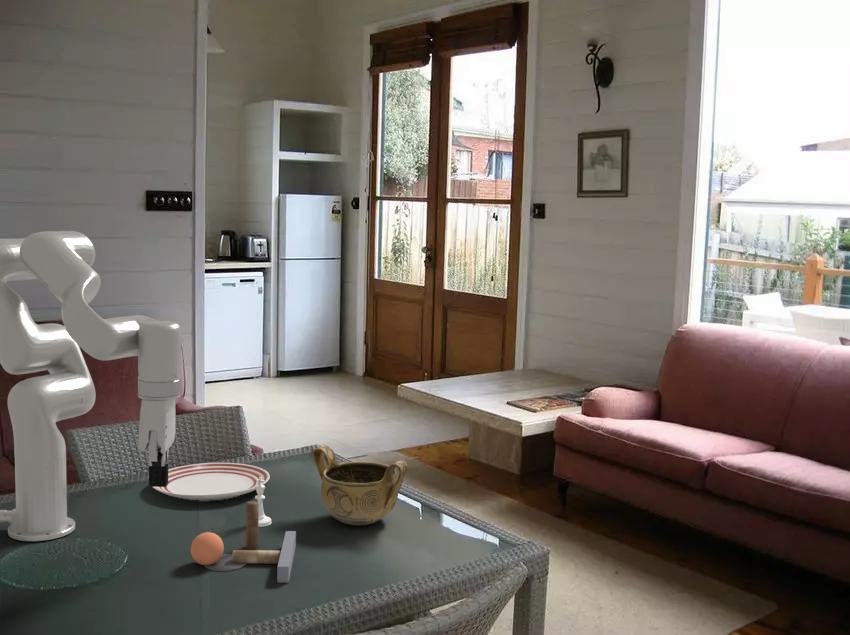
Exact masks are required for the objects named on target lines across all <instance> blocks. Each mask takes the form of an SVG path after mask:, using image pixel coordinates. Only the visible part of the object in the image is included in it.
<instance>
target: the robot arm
mask: <svg viewBox="0 0 850 635" xmlns="http://www.w3.org/2000/svg"><path fill="white" fill-rule="evenodd" d="M95 261H96V249H95V246H94V243H93V242H92V241H91V240H90V238H89V237H88V236H86V235H85V234H83V233H82V232H79V231H75V230H55V231H53V230H47V231H38V232H35V233H32V234H30V235H28V236H27V237H24V238H23V237H22V238H0V365H1V366H2V369H3V370H4V371H5V372H6V373H8V374H10V375H25V374H32V373H38V372H43V371H48V373H49V374H45V375H39V376H33V377H29V378H26V379H24V380H21V381H19V382H18V383H16V384H15V385H14V386H12V388H11V389H10V390H9V393H8V396H7V409H8V414H9V418H10V422H11V427H12V433H13V434H12V435H13V446H14V449H13V452H14V478H15V479H14V481H15V482H14V483H15V508H13V509H12V510H7V509H0V523H5V524H6V523H9V524H10V525H9V526H8V527H7V534H8V537H10V538H11V539H13V540H16V541H21V542H42V541H50V540H55V539H58V538H62V537H65V536H67V535H69V534H71V533H72V532H74V530H75V529H76V521H75V520H74V519H73V518H71V517H69V516H68V505H67V504H68V503H67V502H68V499H67V498H68V497H67V496H68V495H67V446H66V445H67V444H66V440H65V438H64V436H63V435H62V433H61V431H60V430H59V429H58V425H57V423H56V422H60V421H63V420H67V419H72V418H76V417H79V416H82V415H84V414H87V413H89V411H90V410H92V409H93V407H94V405H95V403H96V394H97V393H96V387H95V384H94V382H93V381H94V380H93V379H92V375H91V373H90V371H89V368H88V366H87V363H86V360H85V358H84V355H83V353H82V351H84V352H85V353H86V354H87V355H89V356H90V357H91V358H94V359H96V360H99V361H107V362H108V361H112V360H118V359H123V358H132V357H137V360H138V361H137V378H138V379H137V397H138V398H139V399H141V403H140V412H139V425H138V426H139V427H138V442H137V443H138V444H137V445H138V447H137V451H138V452H139V453H140V454H143V453H144V452H145V451H146V450H147V449H148V486H149V487H152V488H153V487H166V485H167V484H168V470H169V463H168V462H169V451H170V450H169V449H170V447H171V446H172V444H173V443H174V442H175V437H176V400H177V399H179V398H180V397H181V395H182V394H181V392H182V391H181V388H182V387H181V386H182V385H181V384H182V383H181V382H182V381H181V380H182V372H181V371H182V329H181V328H182V327H181V326H180V324H179V323H178V322H175V321H172V320H161V319H160V320H158V319H155V318H152V317H150V316H147V315H142V314H140V315H139V314H135V315H128V316H127V315H126V316H116V317H110V318H109V317H107V318H103V317H101V316H100V315H99V314H98V313H97V312H95V311H94V310H93V308H92V307H91V306H90V305H89V304H90V303H91V301H93V299H94V298H95V297H96V296H97V294H98V293H99V291H100V288H101V282H102V281H101V277H100V275H99V274H98V272H97V271H96V270H95V269H93V267H92V266H93V265H94V263H95ZM26 280H29V281H30V280H39V282H40V283H42V284H43V285H44V286H45V287H46V288H47V289H48V290H49V291H50V292H51V294H53V296H55V298H56V299H58V301H60V303H61V310H60V312H61V319H62V323H63V325H62V324H59V323H52V322H51V323H50V322H49V323H42V324H41V323H40V324H37V323H36V322H35V321H34V319H33V318H32V316H31V313H30V310H29V307H28V305H27V303H26V302H25V300H24V299H23V298H22V297H21V295H19V293H18V292H17V291H15V290H14V289H13V288H12V287H10V286H9V285H8V284H7V282H12V281H13V282H14V281H15V282H16V281H26Z"/></svg>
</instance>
